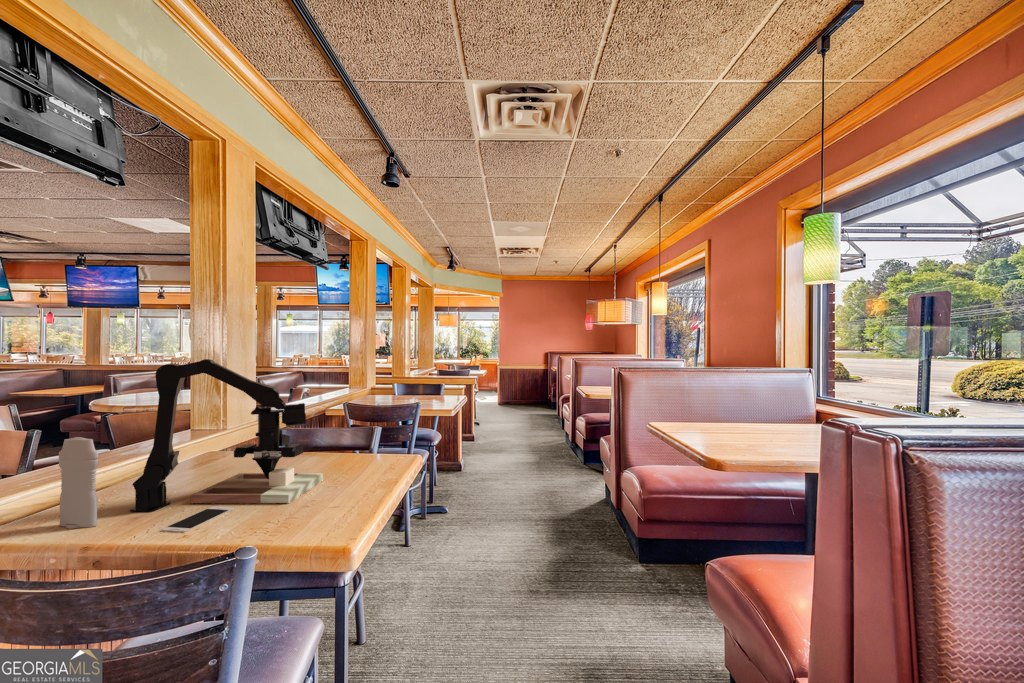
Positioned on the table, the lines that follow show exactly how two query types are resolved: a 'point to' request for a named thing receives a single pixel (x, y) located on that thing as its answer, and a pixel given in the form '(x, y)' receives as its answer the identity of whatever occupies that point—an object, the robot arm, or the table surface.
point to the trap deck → (256, 489)
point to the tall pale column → (78, 483)
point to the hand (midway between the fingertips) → (269, 478)
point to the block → (281, 476)
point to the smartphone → (197, 519)
